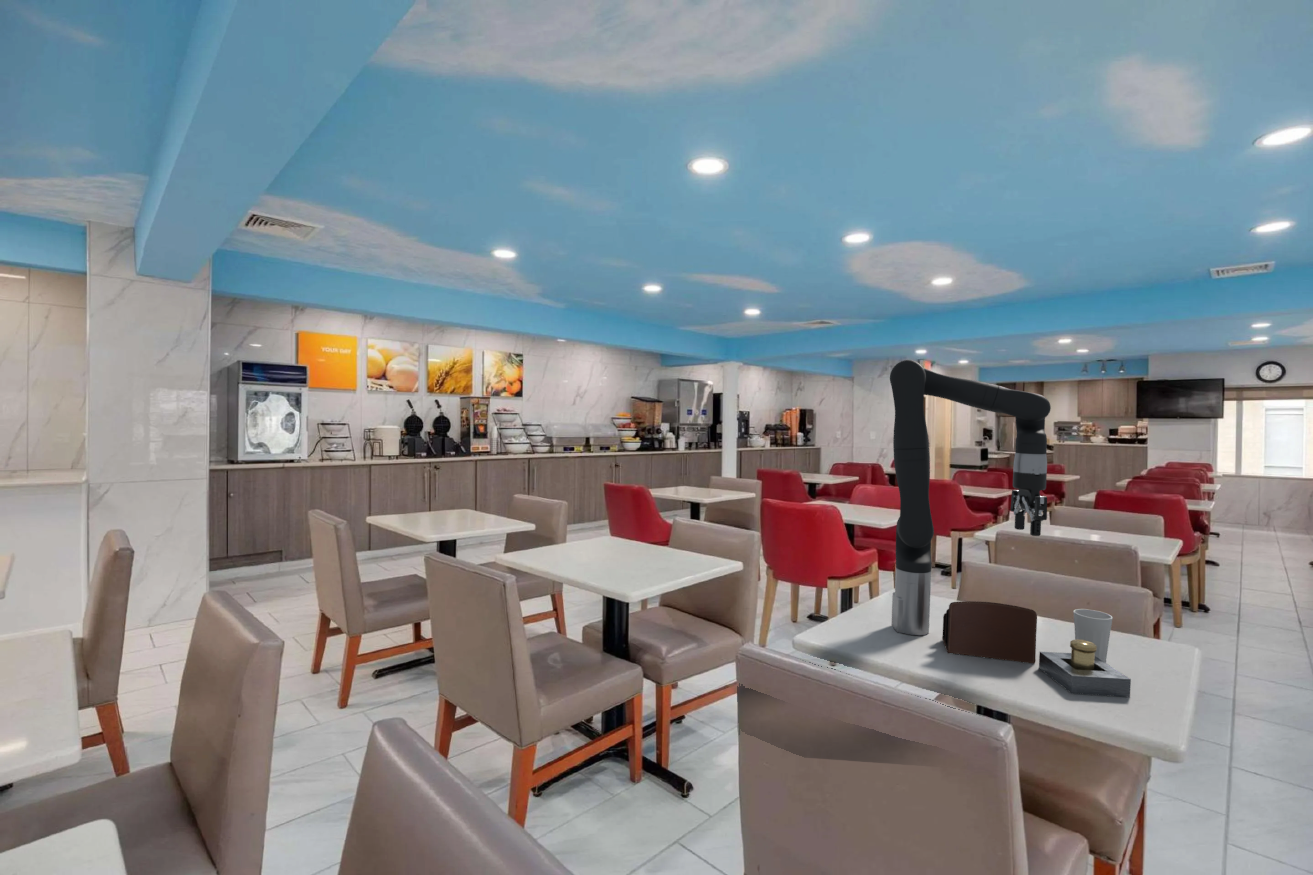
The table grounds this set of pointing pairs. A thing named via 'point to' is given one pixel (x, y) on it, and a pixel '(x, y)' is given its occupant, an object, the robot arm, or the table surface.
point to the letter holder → (990, 631)
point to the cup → (1093, 629)
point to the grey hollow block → (1084, 676)
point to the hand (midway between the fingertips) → (1027, 532)
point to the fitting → (1082, 654)
